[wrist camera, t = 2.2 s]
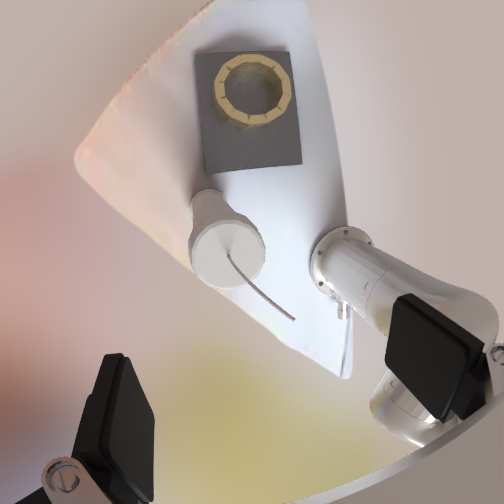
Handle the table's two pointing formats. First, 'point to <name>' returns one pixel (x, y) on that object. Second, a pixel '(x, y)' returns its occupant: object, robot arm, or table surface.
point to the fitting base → (247, 110)
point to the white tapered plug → (225, 245)
